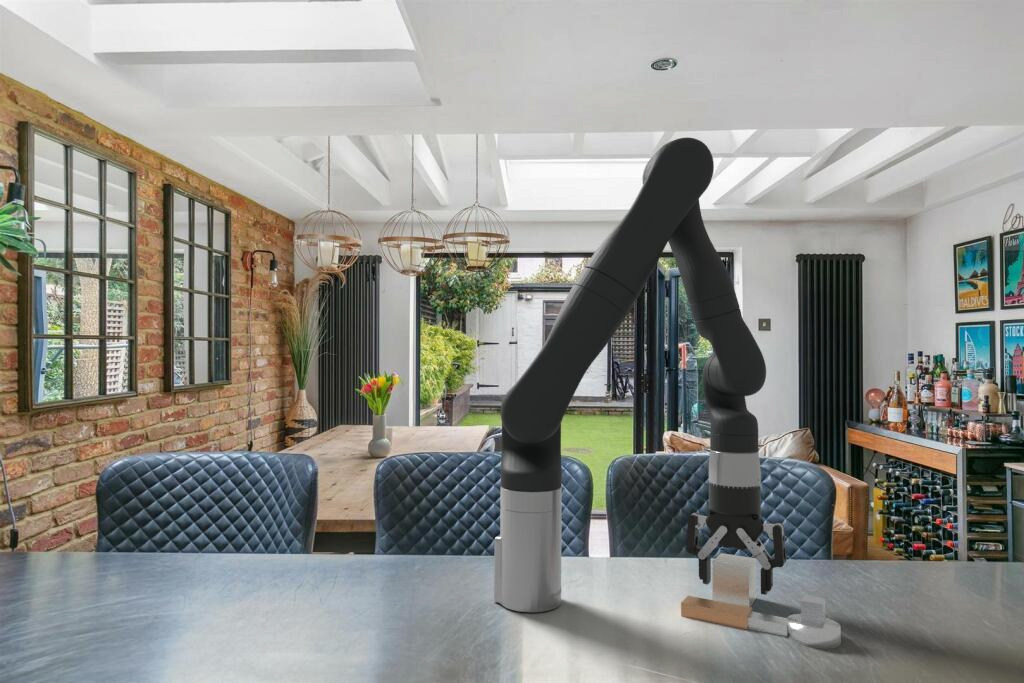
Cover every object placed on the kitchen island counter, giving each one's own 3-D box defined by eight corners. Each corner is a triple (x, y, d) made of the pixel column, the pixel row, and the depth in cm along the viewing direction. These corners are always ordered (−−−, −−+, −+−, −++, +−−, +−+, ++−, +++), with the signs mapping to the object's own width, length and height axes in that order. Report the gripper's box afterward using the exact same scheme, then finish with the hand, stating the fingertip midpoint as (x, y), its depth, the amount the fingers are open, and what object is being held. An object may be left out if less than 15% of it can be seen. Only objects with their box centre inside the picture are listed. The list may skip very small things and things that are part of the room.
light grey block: (712, 601, 99) (712, 561, 100) (721, 591, 104) (721, 553, 104) (749, 608, 97) (748, 567, 97) (756, 598, 101) (756, 558, 101)
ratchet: (677, 619, 92) (677, 583, 93) (690, 605, 98) (690, 571, 98) (838, 653, 82) (838, 612, 82) (843, 635, 87) (842, 597, 88)
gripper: (680, 479, 101) (681, 586, 101) (779, 488, 94) (781, 604, 93) (694, 472, 108) (695, 573, 107) (788, 481, 100) (789, 589, 100)
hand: (735, 587), depth 100 cm, fingers open, 8 cm apart
